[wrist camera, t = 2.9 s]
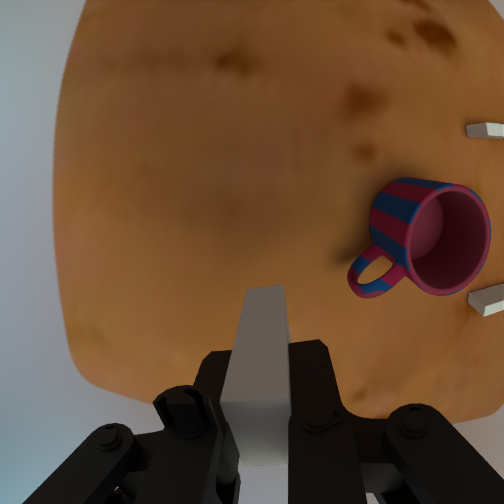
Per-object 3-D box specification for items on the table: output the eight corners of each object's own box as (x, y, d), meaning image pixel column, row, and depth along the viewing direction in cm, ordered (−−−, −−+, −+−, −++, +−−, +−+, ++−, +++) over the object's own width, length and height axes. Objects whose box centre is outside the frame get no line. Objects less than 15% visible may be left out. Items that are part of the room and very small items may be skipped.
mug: (450, 239, 21) (497, 265, 14) (350, 293, 23) (373, 339, 16) (425, 164, 19) (476, 167, 13) (316, 218, 21) (332, 241, 15)
